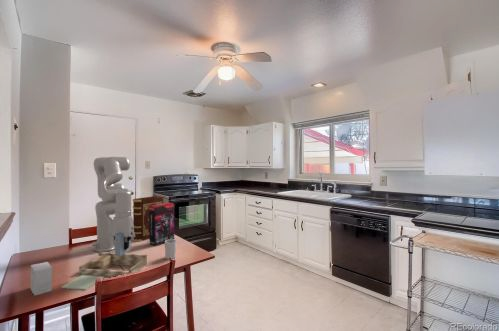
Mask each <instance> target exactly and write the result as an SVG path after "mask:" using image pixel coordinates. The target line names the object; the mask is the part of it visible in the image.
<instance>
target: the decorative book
mask: <svg viewBox="0 0 499 331" xmlns="http://www.w3.org/2000/svg"><path fill="white" fill-rule="evenodd" d="M132 202H133V204H132V210H133V212H132V218H133V224H134V234H135V237H134V238H132V241H133V242H142V241H146V240H150V235H149V206H150V205H156V204H163V203H164V196H158V195H155V196H154V195H153V196H146V197H139V198H132Z"/></svg>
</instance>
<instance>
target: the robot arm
mask: <svg viewBox="0 0 499 331" xmlns="http://www.w3.org/2000/svg"><path fill="white" fill-rule="evenodd" d="M130 162H131V161H130V160H129V158H128V157H126V156H108V157H107V156H105V157H101V156H100V157H96V158H94V159H93V170H94V172H95V175H96V177H97V195H98V198H100V199H101V200H100V201H98V202H97V203H96V204H95V207H94V208H95V209H94V210H95V214H96V241H93V242H92V244H91V246H93V247H94V246H95V247H94V248H93V250H94V252H96V253H99V252H107V253H108V252H111V251H113V250H114V251H115V234H117V233H118V234H123V237H125V242H124V250H126V249H128V248H129V241H130V240H133V238H134V237H135V234H134V224H133V215H132V192H131V190H130V189H128V188H126V187H125V185H124V184H123V183H119V182H120V181H121V180H123V173H122V171H124V172H126V171H129V169H130V168H131V163H130ZM111 215H114V217H113V218H112V217H110V216H111ZM130 235H131V236H130Z"/></svg>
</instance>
